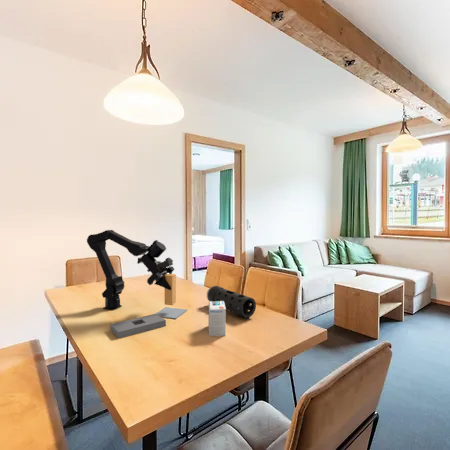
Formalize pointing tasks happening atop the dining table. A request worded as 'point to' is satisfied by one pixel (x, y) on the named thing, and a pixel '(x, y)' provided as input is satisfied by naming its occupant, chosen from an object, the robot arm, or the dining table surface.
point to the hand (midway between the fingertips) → (172, 288)
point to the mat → (171, 312)
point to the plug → (170, 294)
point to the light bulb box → (217, 318)
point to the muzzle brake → (233, 301)
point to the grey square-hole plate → (137, 325)
